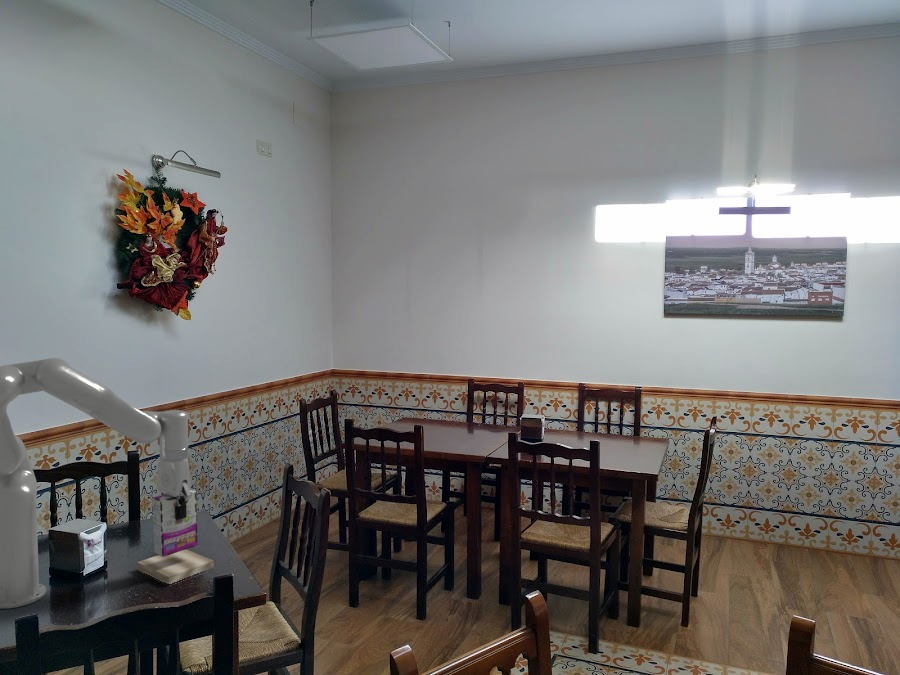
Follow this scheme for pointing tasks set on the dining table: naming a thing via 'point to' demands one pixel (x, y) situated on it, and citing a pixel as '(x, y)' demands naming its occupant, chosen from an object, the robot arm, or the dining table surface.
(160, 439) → the robot arm
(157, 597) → the dining table surface
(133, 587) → the dining table surface
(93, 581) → the dining table surface
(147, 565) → the pale wooden block
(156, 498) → the candy bar box
